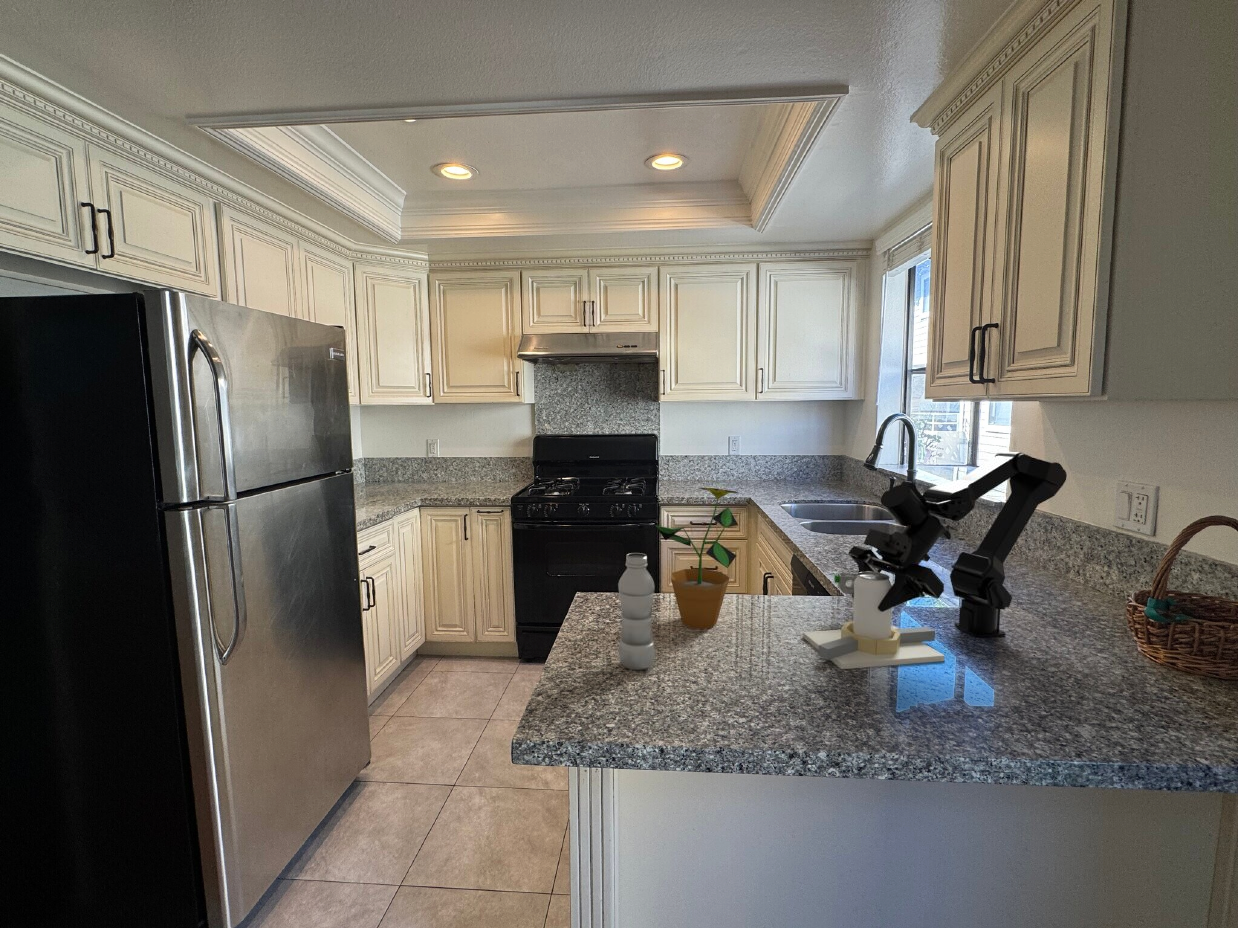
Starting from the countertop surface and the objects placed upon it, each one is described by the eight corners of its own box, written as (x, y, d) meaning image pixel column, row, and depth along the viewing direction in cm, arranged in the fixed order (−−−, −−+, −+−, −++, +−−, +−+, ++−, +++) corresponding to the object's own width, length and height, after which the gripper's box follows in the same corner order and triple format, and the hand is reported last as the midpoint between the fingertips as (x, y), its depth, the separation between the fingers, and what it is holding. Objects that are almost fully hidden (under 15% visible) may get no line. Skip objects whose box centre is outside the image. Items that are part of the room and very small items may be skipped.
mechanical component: (886, 625, 115) (888, 578, 114) (835, 621, 117) (836, 576, 116) (882, 619, 118) (884, 574, 117) (832, 616, 120) (833, 572, 119)
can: (851, 629, 107) (852, 569, 106) (887, 633, 105) (889, 572, 105) (855, 642, 101) (856, 579, 100) (893, 646, 99) (895, 581, 98)
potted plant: (761, 630, 113) (764, 485, 110) (681, 645, 105) (682, 491, 103) (714, 602, 129) (715, 476, 126) (642, 614, 122) (641, 480, 119)
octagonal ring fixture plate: (906, 629, 112) (907, 613, 112) (958, 659, 99) (959, 640, 98) (791, 637, 109) (791, 620, 108) (828, 670, 95) (829, 650, 95)
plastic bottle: (630, 678, 92) (629, 562, 91) (612, 662, 98) (611, 553, 97) (662, 669, 95) (662, 557, 94) (643, 654, 101) (643, 549, 100)
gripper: (856, 506, 111) (809, 564, 109) (934, 523, 94) (879, 593, 91) (887, 540, 114) (841, 598, 112) (967, 564, 97) (915, 632, 94)
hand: (866, 604), depth 103 cm, fingers closed on can, 6 cm apart
